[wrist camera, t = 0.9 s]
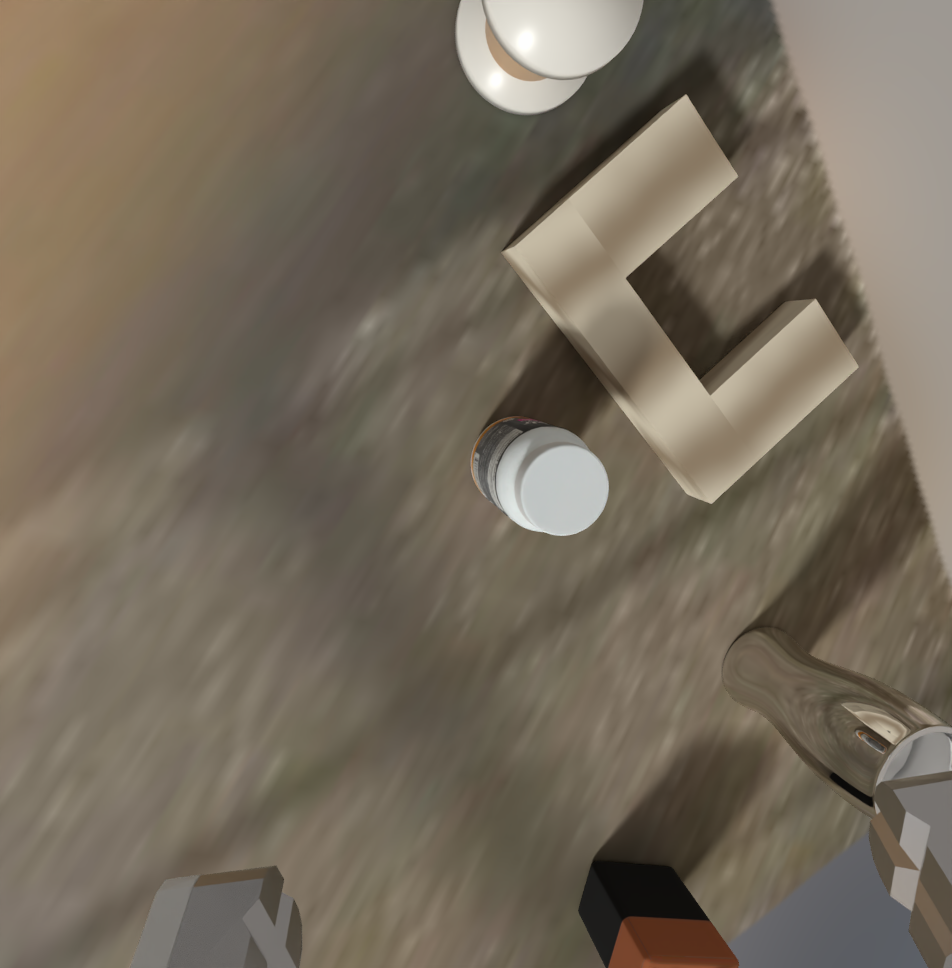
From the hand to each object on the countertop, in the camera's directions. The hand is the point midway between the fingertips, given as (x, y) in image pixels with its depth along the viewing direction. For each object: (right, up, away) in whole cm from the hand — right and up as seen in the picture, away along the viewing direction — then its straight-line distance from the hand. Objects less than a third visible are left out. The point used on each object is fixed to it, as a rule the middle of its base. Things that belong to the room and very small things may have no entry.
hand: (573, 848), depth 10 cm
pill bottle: (+1, +6, +36) cm, 37 cm away
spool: (+1, +30, +32) cm, 44 cm away
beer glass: (+19, -8, +44) cm, 48 cm away
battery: (+10, -24, +44) cm, 52 cm away
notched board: (+11, +16, +37) cm, 42 cm away
